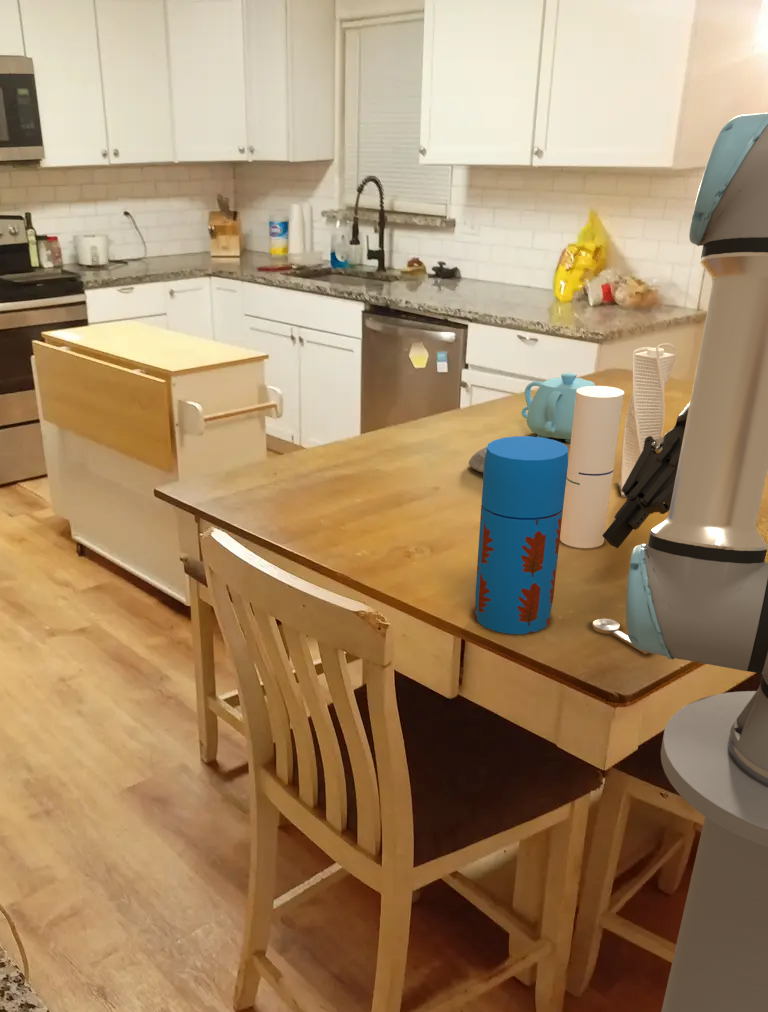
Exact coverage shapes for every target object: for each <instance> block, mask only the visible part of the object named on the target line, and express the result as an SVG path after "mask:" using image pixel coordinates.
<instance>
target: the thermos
mask: <svg viewBox="0 0 768 1012" xmlns="http://www.w3.org/2000/svg"><path fill="white" fill-rule="evenodd" d="M486 447H487V450H486V455H485V460H484V473H482V477H483V478H482V487H481V489H482V492H481V502H480V503H481V505H480V517H479V518H480V522H479V533H478V534H479V535H478V549H477V565H476V577H475V578H476V579H475V590H474V591H475V593H474V596H475V599H474V601H475V603H474V606H475V607H474V616H475V619H476V620H477V622H478V624H480V625H482V626H483V627H484V628H486V629H489V630H492V631H494V632H497V633H502V634H507V635H527V634H532V633H537V632H539V631H541V630H543V629H545V628H546V627H547V626H548V625H549V623H550V618H551V613H552V607H553V602H554V593H555V587H556V586H555V584H556V576H557V566H558V558H559V548H560V542H561V540H560V533H561V524H562V516H563V507H564V498H565V489H566V480H567V471H568V462H569V447H568V446H567V445H566V444H565V443H562V442H561V441H558V440H555V439H551V438H542V437H537V436H530V435H525V436H524V435H523V436H522V435H521V436H519V435H518V436H507V437H502V438H498V439H494V440H492V441H490V442H489V443H488V444H487V446H486Z"/></svg>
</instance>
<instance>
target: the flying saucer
mask: <svg viewBox="0 0 768 1012" xmlns="http://www.w3.org/2000/svg"><path fill="white" fill-rule="evenodd" d="M486 450H487V446H486V447H485V446H484V447H483V448H480V449H479V450H477V451H476V452H475V453H474V454H473V455H472V456H471V457H470V458H469V460H468V465H469V466H470V468H472V469H473V470H475V471H477V472H479V473H482V474H484V460H485V455H486Z"/></svg>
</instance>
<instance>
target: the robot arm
mask: <svg viewBox="0 0 768 1012" xmlns="http://www.w3.org/2000/svg"><path fill="white" fill-rule="evenodd" d="M688 237H689V241H690V243H691V244H693V245H696V246H697V247H702V251H701V256H700V261H699V264H700V265H701V267H702V268H703V269H704V270H705V271H706V273H707V275H708V276H709V277H710V278H711V289H710V294H709V301H708V305H707V311H706V316H705V320H704V326H703V332H702V336H701V342H700V347H699V353H698V358H697V363H696V367H695V368H696V369H695V374H694V378H693V379H694V380H693V383H692V384H693V385H692V389H691V394H690V399H689V402H688V403H687V405H686V406H685V407H684V409H683V410H681V412H680V413H679V414H678V416H677V417H676V421H675V425H674V427H673V428H671V429H670V430H668V431H667V432H665V434H664V435H663V436H662V438H658V439H653V437H652V436H649V437H647V438H646V439H645V442H644V448H643V451H642V453H641V455H640V456H639V458H638V460H637V462H636V464H635V466H634V467H633V469H632V471H631V473H630V475H629V477H628V479H627V480H626V482H625V484H624V486H623V488H622V492H623V493H624V494H625V496H626V497H625V498H626V501H625V502H624V503H623V505H622V506H620V508H619V510H618V511H617V512H616V513H615V515H614V520H613V521H612V522H611V524H610V525H609V526H608V528H607V529H606V530H605V533H604V534H603V535H602V536H603V537H604V540H605V541H606V542H607V543H608V544H609V545H610V546H611V547H614V548H615V549H619V548H620V547H621V545H623V543H624V542H625V540H626V539H627V538H628V536H630V534H631V533H632V532H633V530H634V531H637V530H638V529H639V528H640V527H641V526H642V524H643V523H644V522H645V521H646V520H647V518H648V517H650V515H651V514H654V513H659V514H660V515H665V514H666V513H668V515H667V516H666V518H665V519H664V520H662V521H661V522H660V523H658V524H657V525H656V526H654V527H653V528H651V529H650V532H649V537H648V542H647V543H640V544H637V545H636V546H634V547H633V549H632V550H631V555H630V557H629V567H628V573H627V581H626V597H625V598H626V599H625V618H626V619H625V624H626V633H627V635H628V637H629V639H630V641H631V643H632V644H633V645H634V646H635V647H636V648H637V649H639V650H642V651H645V652H650V653H649V654H655V655H659V656H663V657H666V658H667V659H668V660H675V659H678V660H682V661H683V660H684V661H688V662H694V663H700V664H705V665H710V666H716V667H721V668H726V669H732V670H737V671H743V672H749V673H755V674H760V675H761V678H760V683H759V687H758V688H757V690H755V691H756V693H755V694H754V695H753V697H752V698H751V700H750V701H749V702H748V704H747V705H746V707H745V708H744V709H743V711H742V712H741V714H740V715H739V716H738V718H737V719H736V721H735V722H734V723H733V725H732V727H731V731H730V735H729V740H728V745H727V748H728V752H729V755H730V757H731V759H732V761H733V762H734V763H735V764H736V766H737V767H738V768H739V769H740V770H741V771H742V772H744V773H745V774H746V775H747V776H749V777H750V778H752V779H753V780H755V781H757V782H758V783H760V784H762V785H764V786H766V787H768V562H766V556H767V551H768V543H767V542H766V541H765V539H764V538H763V537H762V535H761V534H760V532H759V531H758V529H757V521H758V518H759V512H760V507H761V503H762V499H763V494H764V488H765V484H766V479H767V475H768V112H760V113H759V112H758V113H749V114H747V113H746V114H741V115H737V116H735V117H733V118H732V119H730V120H729V121H728V122H726V124H724V126H723V127H722V128H721V130H720V131H719V133H718V135H717V137H716V139H715V141H714V144H713V146H712V148H711V151H710V153H709V156H708V159H707V162H706V165H705V168H704V171H703V174H702V177H701V181H700V184H699V188H698V191H697V195H696V199H695V201H694V210H693V213H692V217H691V220H690V225H689V233H688ZM637 649H636V650H637ZM639 650H638V651H639Z"/></svg>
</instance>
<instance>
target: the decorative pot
mask: <svg viewBox="0 0 768 1012" xmlns="http://www.w3.org/2000/svg"><path fill="white" fill-rule="evenodd" d="M587 386H596V384H595V382H593V381H591V380H587V379H584V378H581V377H577V373H575V372H563V373H561V374H560V377H552V378H549V379H547V380H545V381H541V380H535V381H531V382H530V383H528V384H527V385H526V387H525V389H524V398H525V403H526V406H524V407H523V408H522V410H521V416H522V417H523V418H524V419H526V425H527V426H528V428H529V430H530V432H531V433H533V434H535V435H537V436H536V437H542V438H547V439H550V438H553V439H562V440H563V439H564V441H565V442H566V443H570V444H571V435H572V426H573V418H574V409H575V400H576V391H577V389H579V388H581V387H587ZM533 387H538V389H537V390H536V392H535V394H534V395H533V398H532V395H531V389H532V388H533Z"/></svg>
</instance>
